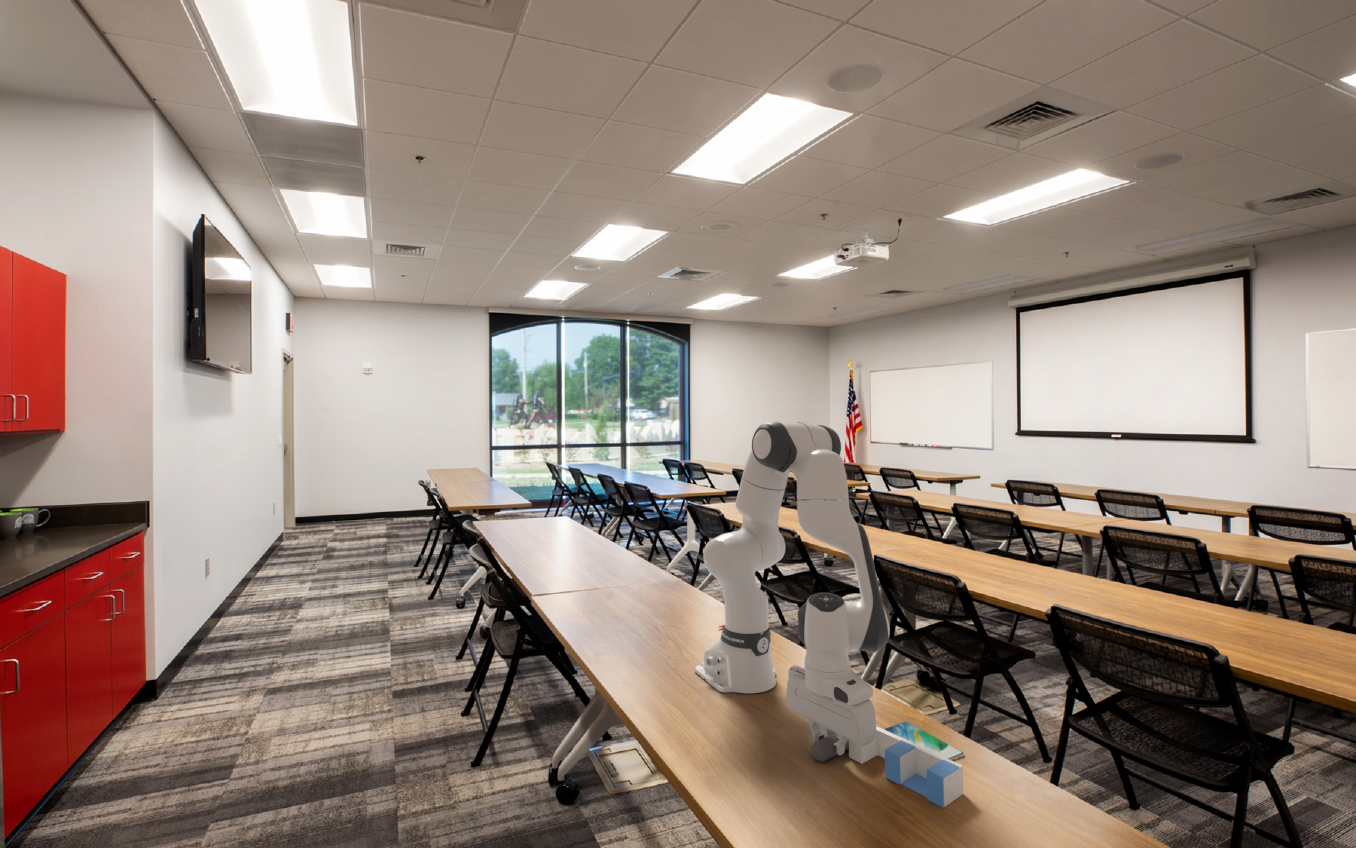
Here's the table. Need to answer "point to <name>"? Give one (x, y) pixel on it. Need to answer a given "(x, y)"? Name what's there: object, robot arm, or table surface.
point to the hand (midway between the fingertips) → (828, 748)
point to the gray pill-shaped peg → (825, 747)
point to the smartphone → (925, 740)
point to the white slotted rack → (912, 766)
